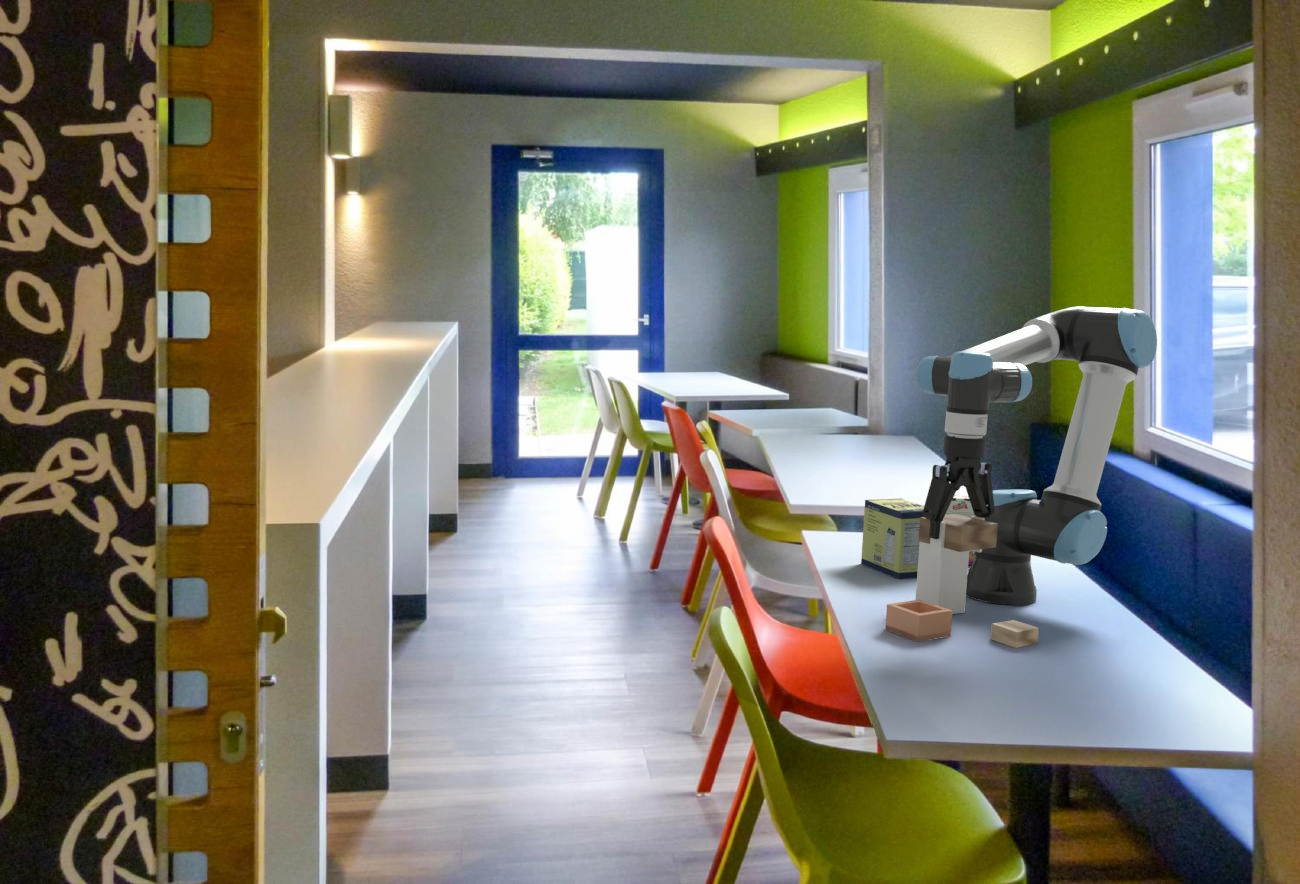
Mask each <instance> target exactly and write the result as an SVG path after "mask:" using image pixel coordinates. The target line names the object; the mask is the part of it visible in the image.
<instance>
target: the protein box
mask: <svg viewBox="0 0 1300 884" xmlns="http://www.w3.org/2000/svg"><path fill="white" fill-rule="evenodd" d="M924 505H925V504H924ZM924 505H923V504H920V503H917V502H913V501H910V500H907V499H904V498H885V499H884V498H883V499H882V498H881V499H879V498H877V499H864V511H863V532H862V542H861V543H862V545H861V559H860V560H861V562H860V565H863V566H865V567H868V568H869V569H872V570H874V571H877V572H880V573H881V574H884V575H887V576H889V577H892V578H894V579H896V580H904V579H913V578H916V579H917V572H918V558H919V543H920V541H918V539H919V527H920V518H921V517H923V516H922V513H923V509H924ZM929 512H931V511H929ZM938 514H939V513H937V515H938Z"/></svg>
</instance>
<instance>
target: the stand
mask: <svg viewBox="0 0 1300 884" xmlns="http://www.w3.org/2000/svg"><path fill="white" fill-rule="evenodd" d="M1039 630H1040V627H1036V626H1033V625H1031V624H1027V623H1024V622H1021V621H1018V620H1016V619H1011V620H1007V621H1006V620H1005V621H1000V622H995V623H991V630H990V631H991V632H990V640H992V641H995V642H996V643H997V642H998V643H1001V644H1004V645H1006V646H1009V647H1012V648H1016V649H1017V648H1021V647H1027V646H1032V645H1038V641H1039Z"/></svg>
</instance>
